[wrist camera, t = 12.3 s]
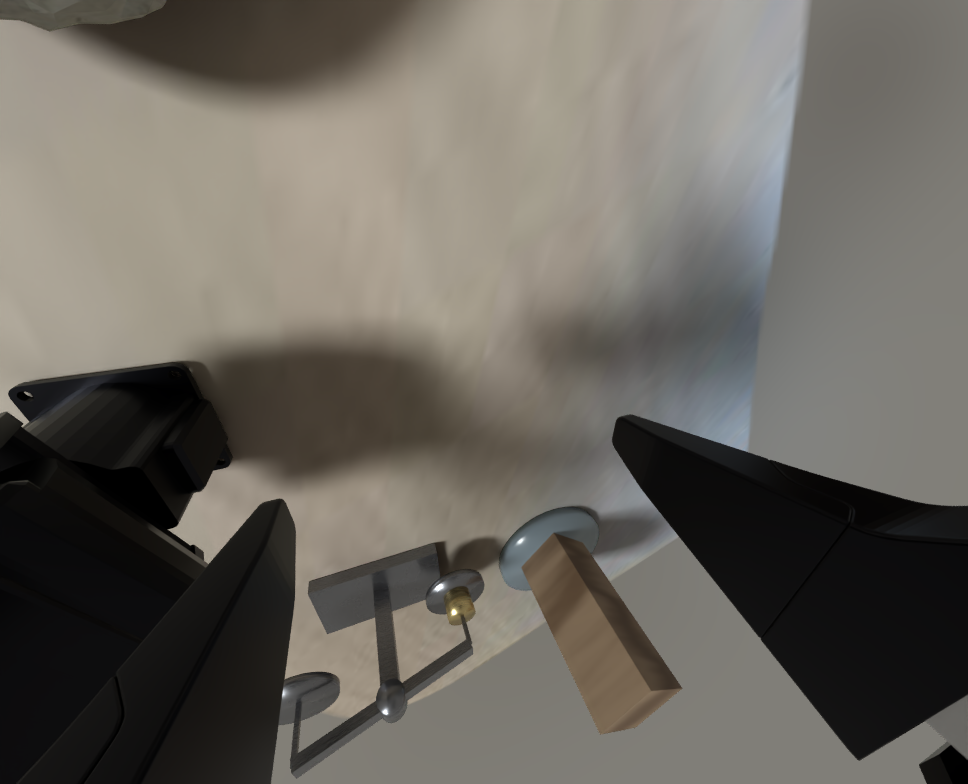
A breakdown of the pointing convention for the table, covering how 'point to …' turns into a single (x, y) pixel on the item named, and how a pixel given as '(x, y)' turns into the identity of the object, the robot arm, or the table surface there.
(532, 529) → the slate dish
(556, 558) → the walnut block
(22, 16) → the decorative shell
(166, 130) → the table surface
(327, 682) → the balance
